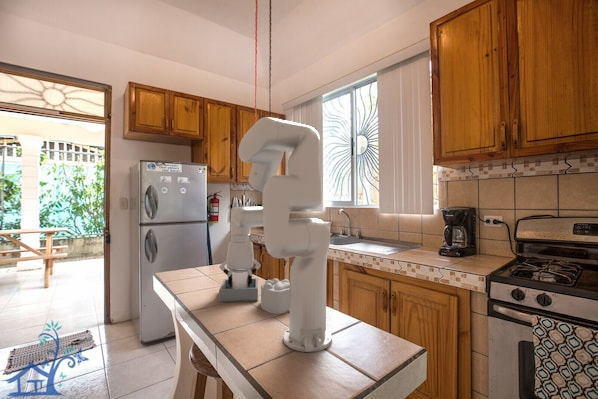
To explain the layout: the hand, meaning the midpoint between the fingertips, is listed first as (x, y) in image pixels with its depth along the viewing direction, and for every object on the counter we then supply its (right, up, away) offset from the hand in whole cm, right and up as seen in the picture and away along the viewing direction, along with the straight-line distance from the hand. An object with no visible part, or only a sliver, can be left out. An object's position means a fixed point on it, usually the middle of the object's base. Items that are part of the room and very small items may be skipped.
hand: (240, 285), depth 104 cm
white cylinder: (0, -1, 0) cm, 1 cm away
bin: (0, -4, 0) cm, 4 cm away
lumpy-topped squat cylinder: (+15, -4, -10) cm, 18 cm away
